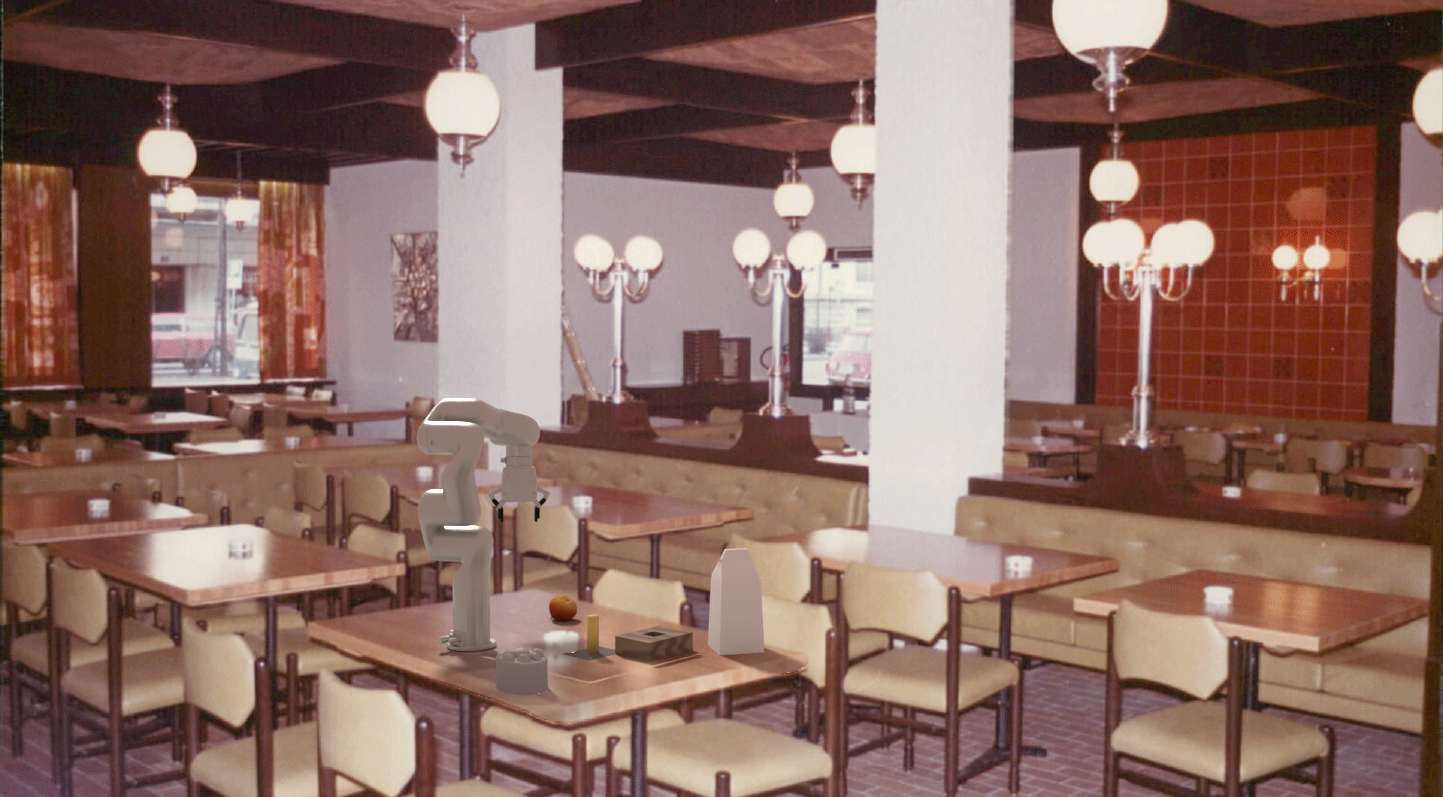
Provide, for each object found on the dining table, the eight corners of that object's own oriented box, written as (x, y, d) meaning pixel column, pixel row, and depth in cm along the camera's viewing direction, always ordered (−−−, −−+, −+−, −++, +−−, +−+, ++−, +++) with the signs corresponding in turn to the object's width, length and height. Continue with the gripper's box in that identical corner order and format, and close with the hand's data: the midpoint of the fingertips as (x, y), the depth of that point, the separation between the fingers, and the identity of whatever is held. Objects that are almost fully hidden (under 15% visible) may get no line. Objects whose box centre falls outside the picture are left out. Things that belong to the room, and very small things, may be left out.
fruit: (557, 610, 381) (567, 588, 378) (574, 627, 377) (585, 605, 374) (537, 614, 374) (548, 592, 372) (555, 631, 371) (566, 609, 368)
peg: (592, 654, 330) (592, 617, 330) (584, 652, 332) (584, 615, 332) (601, 652, 333) (601, 615, 332) (593, 650, 335) (593, 614, 334)
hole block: (649, 663, 324) (649, 643, 323) (615, 655, 332) (615, 635, 331) (692, 651, 336) (692, 632, 336) (659, 644, 344) (659, 625, 343)
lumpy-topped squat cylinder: (530, 679, 308) (530, 642, 308) (558, 691, 298) (558, 653, 298) (490, 686, 302) (490, 648, 302) (517, 698, 292) (517, 659, 291)
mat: (589, 661, 325) (589, 660, 325) (562, 655, 331) (562, 653, 331) (623, 653, 334) (623, 651, 334) (596, 647, 340) (596, 645, 340)
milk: (719, 655, 332) (719, 553, 331) (707, 645, 343) (708, 546, 342) (764, 652, 335) (764, 551, 334) (751, 642, 346) (751, 544, 345)
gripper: (488, 463, 368) (488, 523, 369) (550, 462, 371) (550, 522, 372) (488, 461, 375) (488, 520, 376) (548, 460, 379) (548, 519, 379)
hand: (518, 521), depth 374 cm, fingers open, 9 cm apart
